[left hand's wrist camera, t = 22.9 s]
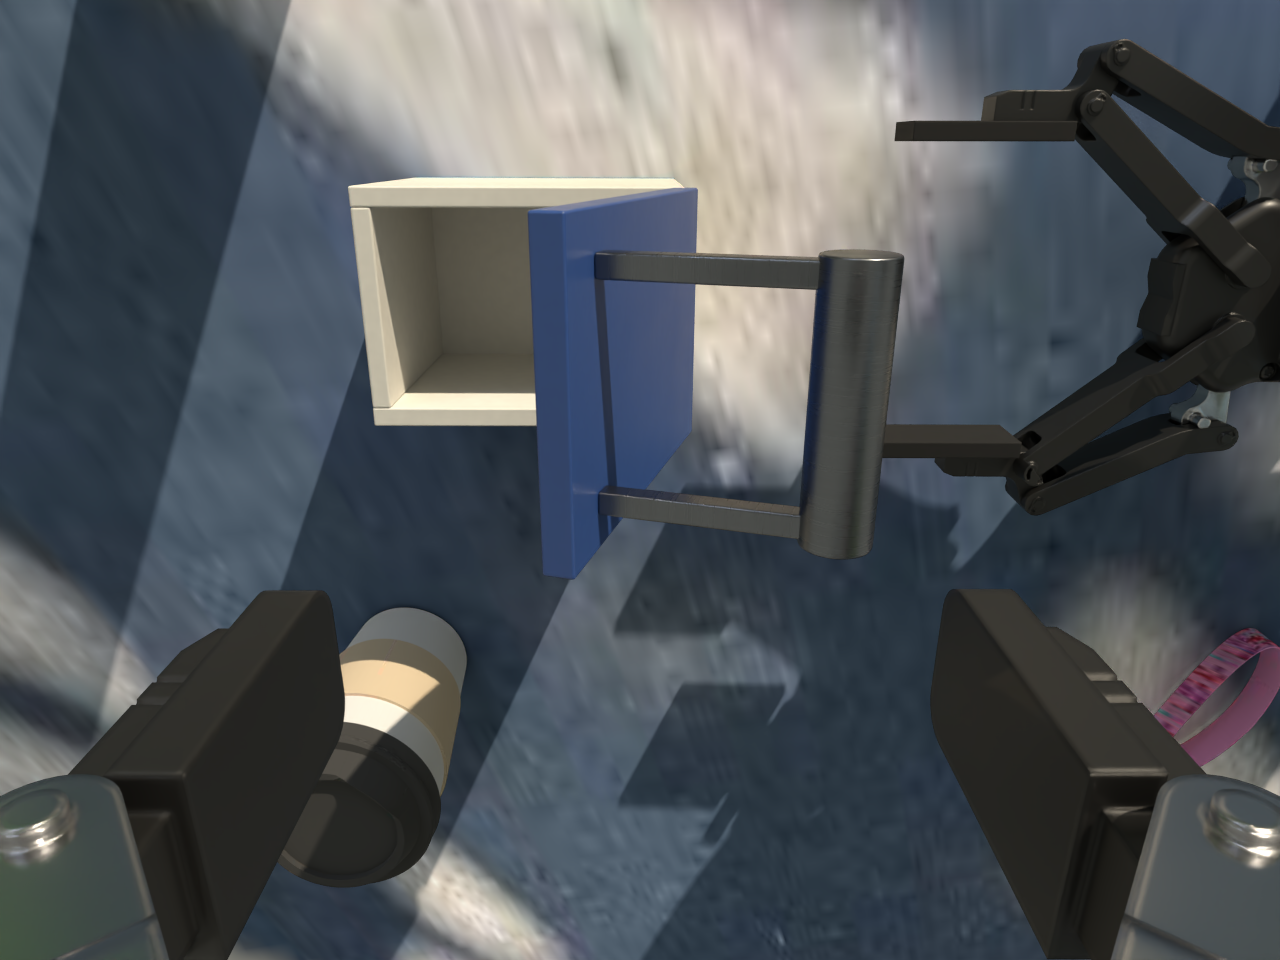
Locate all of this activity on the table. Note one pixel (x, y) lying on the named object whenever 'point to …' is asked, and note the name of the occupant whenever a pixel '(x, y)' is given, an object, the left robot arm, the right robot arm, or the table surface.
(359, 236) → the chest
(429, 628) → the coffee cup
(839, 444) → the lid
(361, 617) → the table surface
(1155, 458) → the right robot arm
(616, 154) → the table surface
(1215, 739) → the headband
